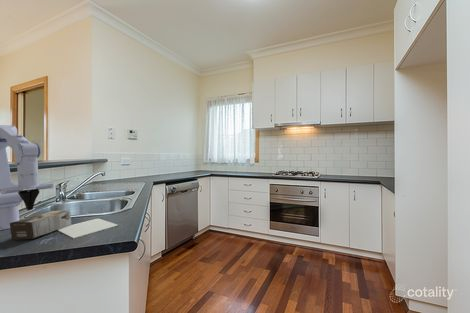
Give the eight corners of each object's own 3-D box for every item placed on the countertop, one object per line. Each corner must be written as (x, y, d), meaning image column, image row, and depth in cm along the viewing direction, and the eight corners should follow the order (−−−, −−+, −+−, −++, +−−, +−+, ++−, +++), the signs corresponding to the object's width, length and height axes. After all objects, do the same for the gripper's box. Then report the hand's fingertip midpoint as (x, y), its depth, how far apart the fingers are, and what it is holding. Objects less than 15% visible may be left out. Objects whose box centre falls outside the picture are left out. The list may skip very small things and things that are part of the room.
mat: (55, 229, 89) (55, 228, 88) (98, 218, 102) (98, 218, 102) (73, 238, 78) (73, 237, 78) (118, 225, 92) (118, 224, 92)
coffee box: (53, 225, 94) (10, 240, 78) (52, 210, 94) (8, 222, 78) (72, 224, 93) (32, 239, 77) (70, 209, 93) (30, 221, 77)
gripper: (3, 177, 75) (5, 216, 76) (55, 173, 87) (56, 206, 88) (-2, 176, 79) (0, 213, 80) (49, 172, 91) (50, 204, 92)
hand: (29, 209), depth 84 cm, fingers closed
